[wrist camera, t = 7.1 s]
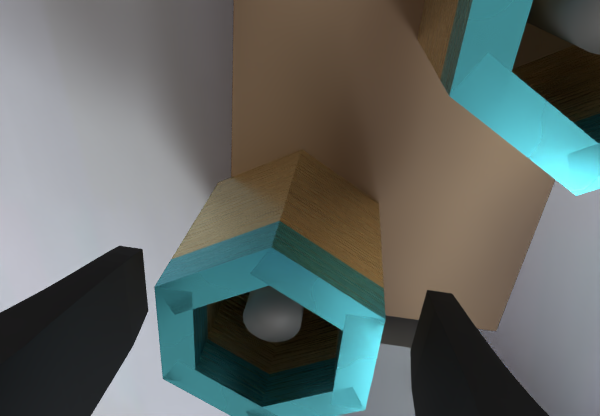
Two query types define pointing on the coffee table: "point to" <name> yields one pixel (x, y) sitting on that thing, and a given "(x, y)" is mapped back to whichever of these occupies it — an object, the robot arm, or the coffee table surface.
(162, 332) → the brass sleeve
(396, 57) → the pin board
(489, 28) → the seated sleeve
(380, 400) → the tray
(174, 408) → the coffee table surface
